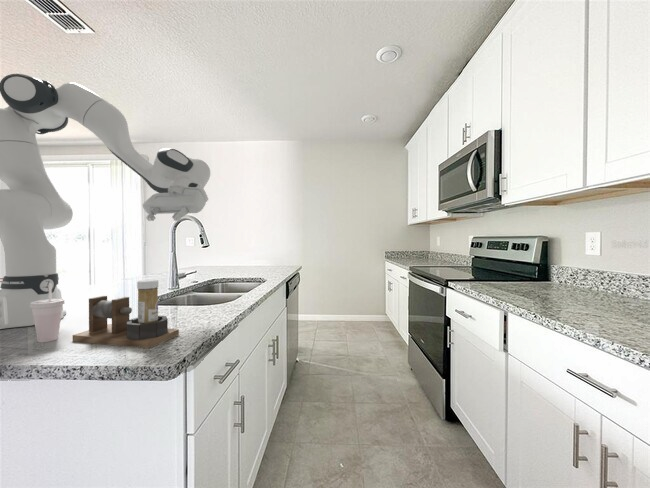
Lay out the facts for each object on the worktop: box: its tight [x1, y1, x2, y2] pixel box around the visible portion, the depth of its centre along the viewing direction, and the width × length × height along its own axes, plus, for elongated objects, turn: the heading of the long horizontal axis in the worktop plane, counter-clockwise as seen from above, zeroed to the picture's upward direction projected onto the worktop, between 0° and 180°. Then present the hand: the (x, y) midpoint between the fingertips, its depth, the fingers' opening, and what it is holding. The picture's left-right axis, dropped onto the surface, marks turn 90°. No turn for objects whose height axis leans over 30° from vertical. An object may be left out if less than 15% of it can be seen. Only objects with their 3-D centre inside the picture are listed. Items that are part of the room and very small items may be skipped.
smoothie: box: [30, 283, 65, 343], centre depth 75 cm, size 6×6×14 cm
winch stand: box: [72, 295, 180, 349], centre depth 77 cm, size 22×10×10 cm, turn 78°
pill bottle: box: [136, 278, 159, 324], centre depth 75 cm, size 5×5×13 cm
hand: (162, 219), depth 95 cm, fingers open, 8 cm apart
